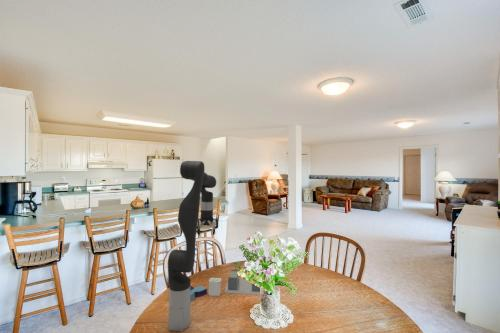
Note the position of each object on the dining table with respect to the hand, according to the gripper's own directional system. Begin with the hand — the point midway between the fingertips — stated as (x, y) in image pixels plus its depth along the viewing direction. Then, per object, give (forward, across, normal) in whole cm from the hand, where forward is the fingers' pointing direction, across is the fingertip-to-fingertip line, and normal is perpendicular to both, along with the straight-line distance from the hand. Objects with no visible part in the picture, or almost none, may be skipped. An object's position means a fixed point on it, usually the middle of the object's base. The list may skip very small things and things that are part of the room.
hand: (206, 235), depth 152 cm
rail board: (+28, +24, -10) cm, 38 cm away
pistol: (+29, -8, -15) cm, 33 cm away
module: (+28, +6, -16) cm, 33 cm away
